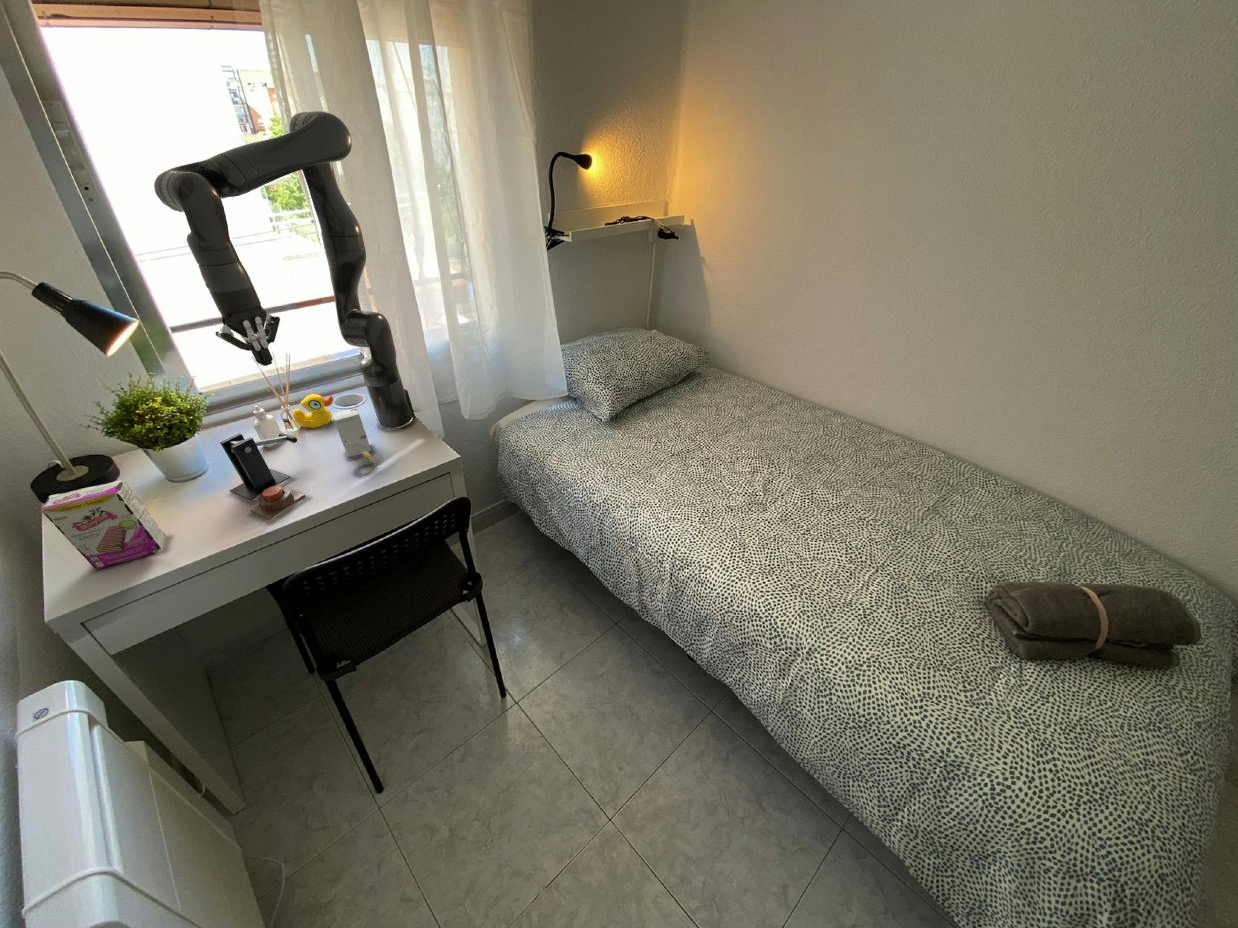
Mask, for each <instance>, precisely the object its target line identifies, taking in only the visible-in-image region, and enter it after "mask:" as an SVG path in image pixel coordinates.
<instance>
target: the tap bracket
mask: <svg viewBox="0 0 1238 928" xmlns="http://www.w3.org/2000/svg"><path fill="white" fill-rule="evenodd" d="M238 440H243V441H241V442H239V443H237V444H235V445H233V446H231V447H230V442H233V441H238ZM254 441H255V440H254V438H253V437H250V436H249V437H248V438H246V439H245V437H244V435H243V434H242V433H237V434H234V435H233V436H230V437H228V438H226V439H224V440H222V441H220V442H219V444H220V445H221V447H222V448H223V451H224V452H225V454H226V456H227V457H228V459H229V461H230V462H231V464H232V466H233V468H234V469H235V471H236V473H237V475H238V476H239V478H240V479H241V481H242V483H241V484H238V485H237V486H235V487H233V488H232V489H230V490H229V492H231V493H233V494H236V495H237V496H240V497H243V498H245V499H247V500H249V501H253V500H254V499H256V498H258V497H259V496H260V495H261V494H262V493H263V491H264V490H265V489H267V488H269V487H272V486H279V485H280V484H281V483H283V482H285V481H286V480H288V479H290V478H291V476H290V475H287V474H285V473H282V472H279V471H277V470H276V469H275V470H274V469H272V468H269V466H268V464H267V462H266V460H265V459H264V456H263V455H262V452H261V451H260V449H259V446H256V444H255V442H254ZM231 448H232V450H233V451H234V453H233V452H231Z"/></svg>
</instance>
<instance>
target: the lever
mask: <svg viewBox="0 0 1238 928" xmlns="http://www.w3.org/2000/svg"><path fill="white" fill-rule="evenodd" d="M241 441H243V440H238V441H233V442H230V447H231V446H233V445H235V444H237V443H239V442H241ZM254 442H255V444H256V446H257V447H262V446H263V445H267V444H272V443H276V444H278V443H282V442H289V443H293V444H296V443H297V442H298V438H297V437H295V436H292V435H289V434H286V433H284V432H282V433H280V434H279V437H276V438H270V439H264V440H260V439H259V440H254ZM277 442H278V443H277ZM231 452H233V453H234V451H233V450H232V448H231Z"/></svg>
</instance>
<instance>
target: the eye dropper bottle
mask: <svg viewBox="0 0 1238 928" xmlns="http://www.w3.org/2000/svg"><path fill="white" fill-rule="evenodd" d="M254 409H255V410H253V411H252V412H253V414H254V417H255V418H256V419H255V421H254V423H253V428H254V430H255V433H256V434H257V436H258V438H259V440H264V439H270V438H276V437H279V434H280V433H283V432H282V430H281V428H280V426H279V423H278V422H277V420H276V418H275V416H273V415H271V414H270V415H269V414H267V413H266V411H265V408H260V407H259V406H258V405H254ZM278 443H279V442H277V443H272V444H267V445H262V446H263V447H267V448H271V447H273V446H274V445H276V444H278Z"/></svg>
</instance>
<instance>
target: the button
mask: <svg viewBox="0 0 1238 928" xmlns="http://www.w3.org/2000/svg"><path fill="white" fill-rule="evenodd" d="M280 487H281V486H279V485H276V486H272V487H269V488H267V489H265V490H264V491H263V496H264V498H265V499H266V501H274V500H277V499H279V498H281V497H282V496H283V495H284V493H283V491H282V489H281V488H280Z"/></svg>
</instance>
